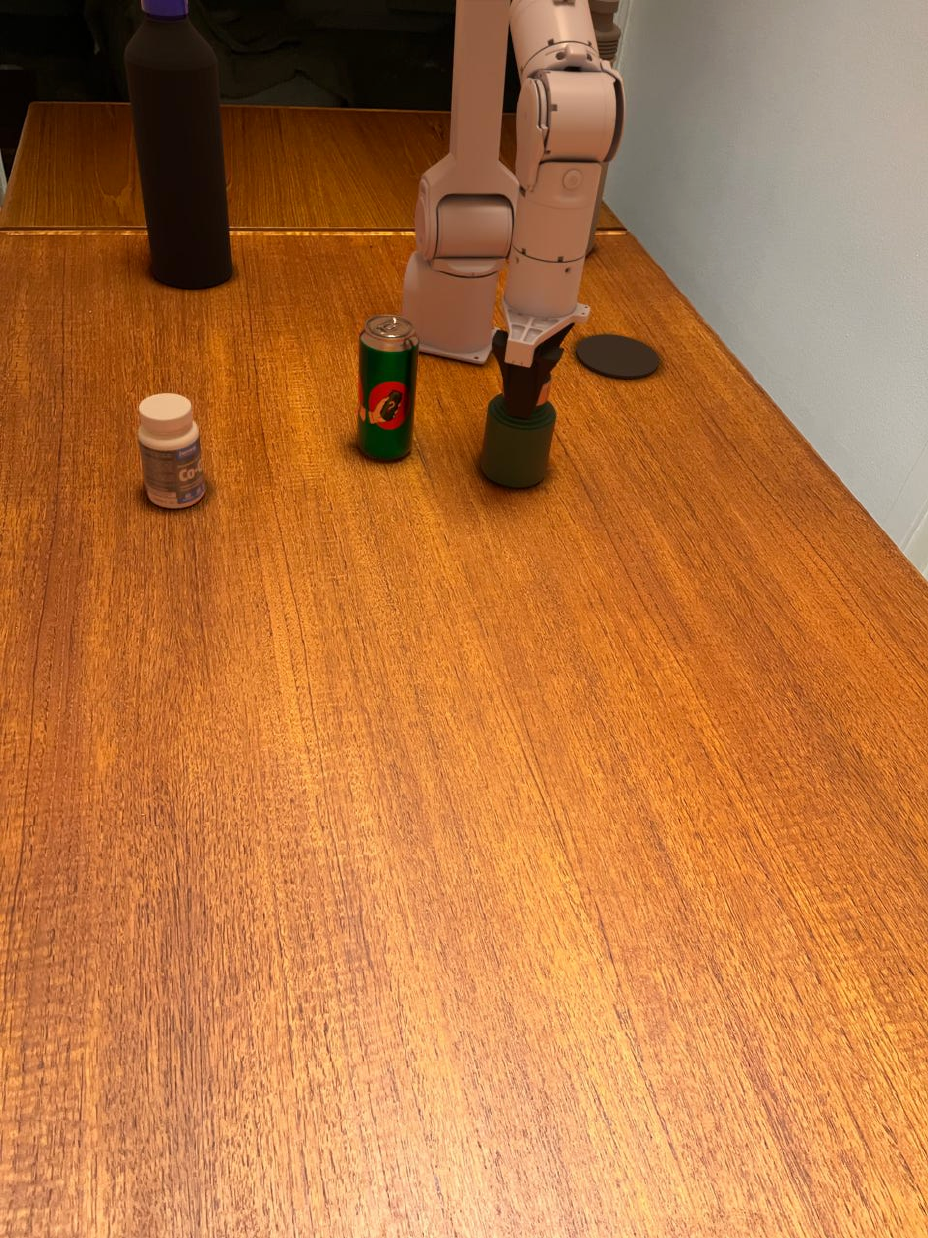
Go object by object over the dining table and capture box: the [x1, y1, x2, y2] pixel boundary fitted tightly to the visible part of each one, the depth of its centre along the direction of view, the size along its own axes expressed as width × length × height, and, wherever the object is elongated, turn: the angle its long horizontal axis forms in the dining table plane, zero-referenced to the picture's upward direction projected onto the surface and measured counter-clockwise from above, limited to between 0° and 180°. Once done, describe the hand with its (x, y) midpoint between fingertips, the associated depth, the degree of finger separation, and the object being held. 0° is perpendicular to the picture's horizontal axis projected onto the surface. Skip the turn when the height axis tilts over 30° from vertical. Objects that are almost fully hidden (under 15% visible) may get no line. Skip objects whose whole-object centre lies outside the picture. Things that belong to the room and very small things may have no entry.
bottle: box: [123, 0, 233, 290], centre depth 101 cm, size 9×9×28 cm
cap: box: [500, 372, 553, 406], centre depth 82 cm, size 4×4×2 cm
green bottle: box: [479, 392, 557, 488], centre depth 85 cm, size 6×6×9 cm
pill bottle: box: [137, 392, 206, 509], centre depth 78 cm, size 5×5×8 cm
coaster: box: [575, 333, 660, 380], centre depth 105 cm, size 9×9×1 cm
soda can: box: [356, 314, 420, 461], centre depth 85 cm, size 5×5×12 cm
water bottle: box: [585, 0, 622, 256], centre depth 116 cm, size 10×10×28 cm
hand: (524, 401), depth 83 cm, fingers closed on cap, 4 cm apart
